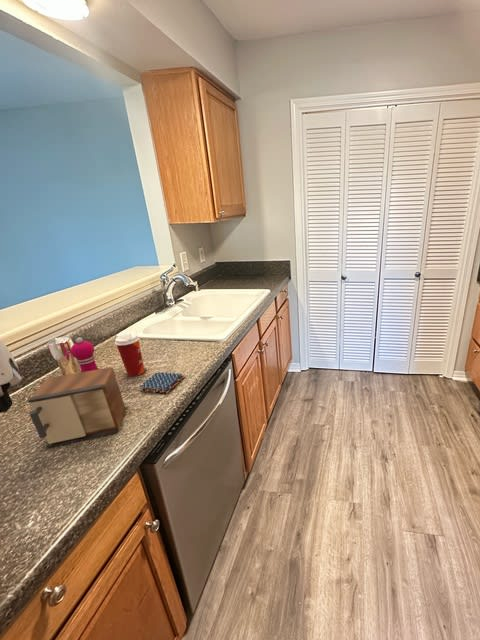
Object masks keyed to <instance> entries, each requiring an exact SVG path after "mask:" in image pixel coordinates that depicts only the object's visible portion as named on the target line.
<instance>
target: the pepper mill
mask: <svg viewBox="0 0 480 640" xmlns="http://www.w3.org/2000/svg"><path fill="white" fill-rule="evenodd" d="M83 339H84V338H83V337H76V338H75V342H76V343H74V345H73V346H72V347H71V354H72V356H73V357H75V358H76V361H77V364H79V368H80V370H81V372H87V371H93V370H98V369H100V368H99V366H97V363H96V361H95V360H96V357H95V356H96V355H95V347H94V345H93V343H92V342H89V341H87V340H83Z"/></svg>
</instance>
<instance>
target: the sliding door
mask: <svg viewBox="0 0 480 640" xmlns="http://www.w3.org/2000/svg"><path fill="white" fill-rule="evenodd" d="M29 405H30V406H31V409H32V411H29V413H28V415H29V417H30V419H31V422H32V424H33V425H34V428H35V430H36V432H37V434H38V437H39V439H44V438H45V440H46V442H47V444H48V445H50V444H51V443H56V442H60V441H65V440H70V439H74V438H79V437H84V436H86V433H85V430H84V428H83V425H82V423H81V420H80V417H79V415H78V412H77V410H76V407H75V404H74V402H73V399H72V397H71V395H68V396H62V397H57V398H52V399H46V400H41V401H35V402H30V403H29Z"/></svg>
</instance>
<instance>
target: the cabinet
mask: <svg viewBox="0 0 480 640" xmlns="http://www.w3.org/2000/svg"><path fill="white" fill-rule="evenodd" d="M68 395H71V397H72V399H73V402H74V404H75V407H76V410H77V412H78V415H79V417H80V420H81V423H82V425H83V428H84V430H85V433H86V436H84V437H79V438H74V439H70V440H65V441H60V442H56V443H51V444H48V448H54V447H58V446H59V447H60V446H64V445H67V444H68V445H69V444H72V443H76V442H81V441H85V440H90V439H94V438H95V439H97V438H99V437H104V436H109V435H114V434H118V433H119V430H120V427H121V423H122V420H123V418H124V414H125V411H126V406H125V402H124V399H123V396H122V393H121V390H120V386H119V383H118V381H117V378H116V374H115V371H114V367H113V366H111V367H104V368H99V369H98V370H93V371H87V372H81V373H75V374H69V375H57V376H51V377H46V379H45V380H44V381H43V383H42V384H41V385H40V386H39V388H38V389H37V390H36V391H35V392H34V394H33V395H32V396H31V397H29V398H28V400H27V403H29V404H30V402H35V401H41V400H46V399H52V398H57V397H62V396H68Z"/></svg>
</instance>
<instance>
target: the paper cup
mask: <svg viewBox="0 0 480 640" xmlns="http://www.w3.org/2000/svg"><path fill="white" fill-rule="evenodd" d="M114 339H115V342H114V344H115V346H116V347H117V350H118V353H119V355H120V359H121V361H122V364H123V366H124V369H125V371H126V374H127V376H128V377H138V376H140V375H142V374H144V373H145V365H144V359H143V355H142V350H141V345H140V337H139V336H138V334H137V333H125V334H122V335H119V336H117V337H116V338H114Z"/></svg>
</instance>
